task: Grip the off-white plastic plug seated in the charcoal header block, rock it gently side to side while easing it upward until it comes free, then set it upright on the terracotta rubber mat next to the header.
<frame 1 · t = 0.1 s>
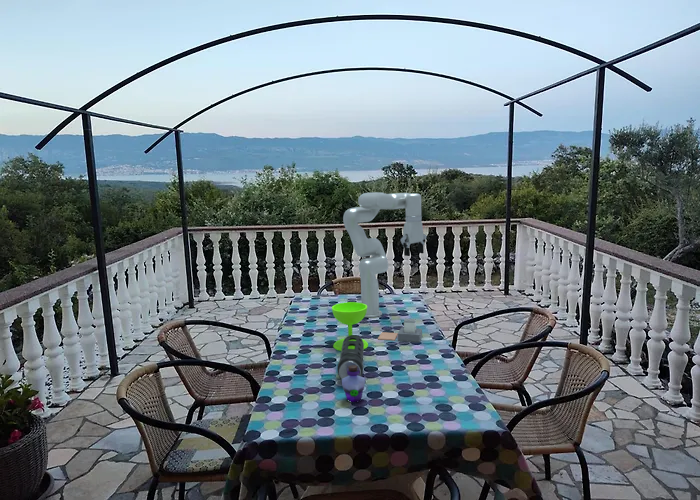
hand: (414, 254, 230), 37 cm above the table, tool pointing down, fingers open, 9 cm apart
muzzle brake: (352, 371, 187), on the table
wineglass: (350, 345, 215), on the table
plug: (410, 329, 221), in the header
mat: (388, 336, 225), on the table
potion bottle: (354, 399, 164), on the table
header: (410, 338, 222), on the table
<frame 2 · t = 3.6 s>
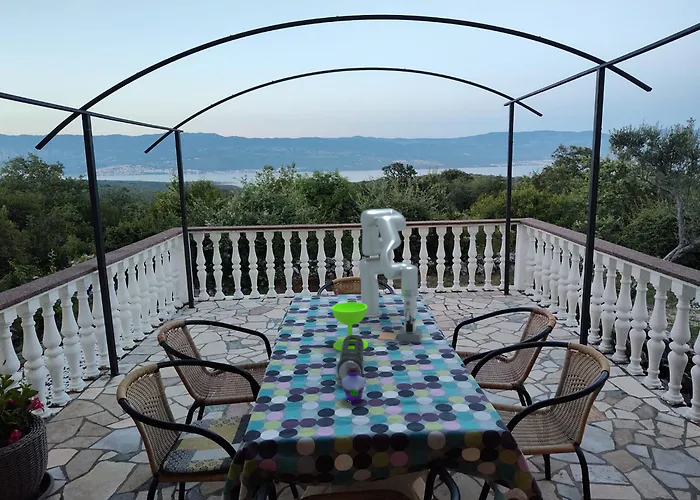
hand: (410, 329, 221), 4 cm above the table, tool pointing down, fingers closed on plug, 3 cm apart
plug: (410, 329, 221), in the header, touching gripper
everything else where it was.
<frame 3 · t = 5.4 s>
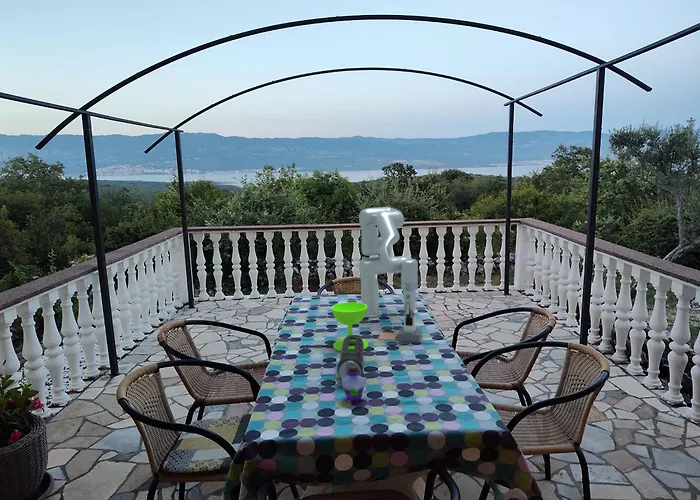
hand: (409, 323, 221), 7 cm above the table, tool pointing down, fingers closed on plug, 3 cm apart
plug: (409, 323, 221), point 7 cm above the table, touching gripper
everything else where it was.
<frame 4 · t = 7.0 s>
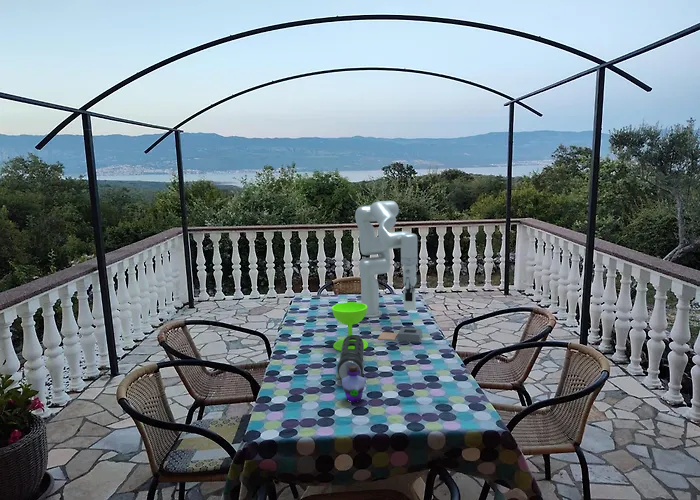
hand: (409, 299, 219), 19 cm above the table, tool pointing down, fingers closed on plug, 3 cm apart
plug: (409, 298, 219), point 19 cm above the table, touching gripper
everything else where it was.
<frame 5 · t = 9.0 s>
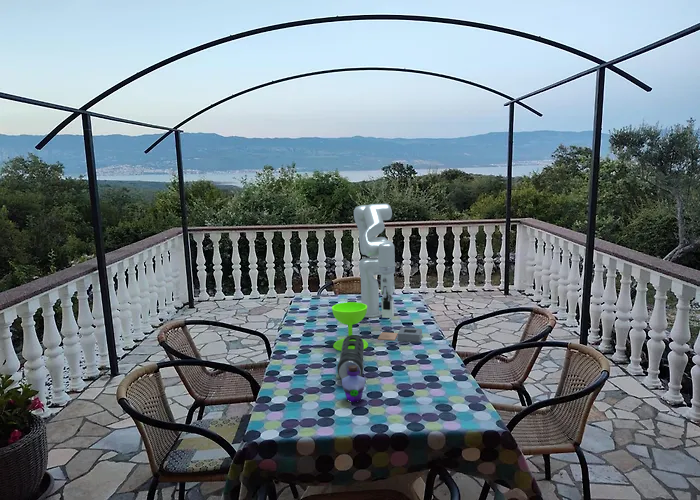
hand: (387, 307, 222), 14 cm above the table, tool pointing down, fingers closed on plug, 3 cm apart
plug: (387, 307, 222), point 15 cm above the table, touching gripper
everything else where it was.
when the fingers open (6 cm above the table, at t = 10.7 s): plug drops 1 cm, resting on mat.
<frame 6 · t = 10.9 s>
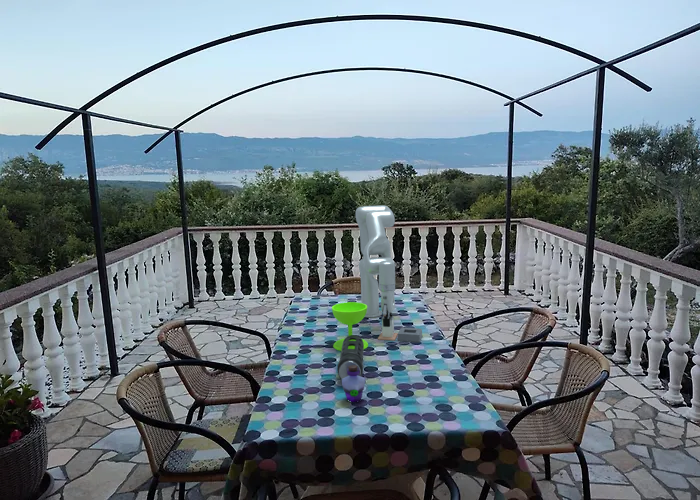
hand: (387, 324, 224), 6 cm above the table, tool pointing down, fingers open, 5 cm apart
plug: (387, 326, 224), on the mat, point 5 cm above the table
everything else where it was.
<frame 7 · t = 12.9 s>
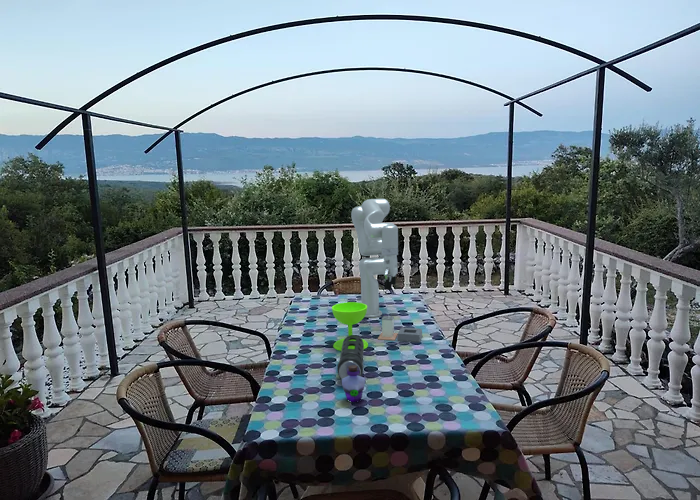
hand: (390, 287, 224), 23 cm above the table, tool pointing down, fingers open, 9 cm apart
nothing on the table moved.
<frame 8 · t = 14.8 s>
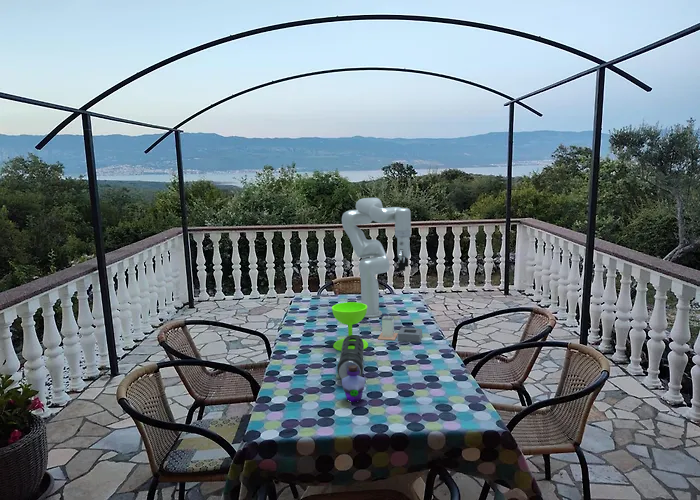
hand: (403, 268, 232), 30 cm above the table, tool pointing down, fingers open, 9 cm apart
nothing on the table moved.
at the end: plug inside the target area on the mat (0.1 cm from its centre), point 5.1 cm above the mat's base; plug tilted 0°; the gripper is holding nothing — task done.
